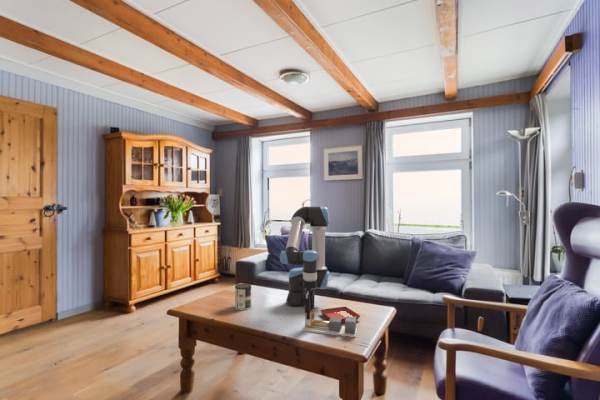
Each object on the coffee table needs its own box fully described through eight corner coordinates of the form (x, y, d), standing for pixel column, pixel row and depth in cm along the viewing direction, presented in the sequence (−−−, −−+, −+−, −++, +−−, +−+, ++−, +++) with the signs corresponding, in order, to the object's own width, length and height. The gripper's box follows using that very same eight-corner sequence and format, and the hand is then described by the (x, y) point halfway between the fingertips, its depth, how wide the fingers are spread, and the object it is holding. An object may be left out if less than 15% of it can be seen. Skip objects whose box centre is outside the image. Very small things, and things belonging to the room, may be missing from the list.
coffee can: (249, 304, 208) (249, 282, 208) (252, 309, 198) (252, 286, 198) (233, 305, 204) (233, 284, 204) (236, 311, 194) (236, 288, 194)
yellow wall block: (305, 326, 167) (305, 311, 167) (307, 323, 171) (307, 308, 171) (338, 330, 162) (338, 314, 162) (339, 327, 166) (339, 312, 166)
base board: (307, 323, 174) (307, 322, 174) (357, 329, 167) (357, 328, 167) (302, 331, 165) (302, 329, 165) (355, 337, 157) (355, 335, 157)
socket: (346, 327, 167) (346, 316, 167) (356, 329, 165) (356, 317, 165) (344, 333, 160) (344, 321, 160) (354, 334, 159) (354, 322, 159)
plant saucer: (319, 314, 190) (319, 309, 190) (345, 311, 196) (345, 305, 196) (332, 326, 173) (332, 320, 173) (361, 321, 179) (361, 315, 179)
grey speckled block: (330, 326, 168) (330, 317, 168) (341, 327, 167) (341, 318, 167) (328, 330, 163) (328, 321, 163) (340, 332, 161) (340, 322, 161)
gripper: (307, 275, 178) (307, 316, 178) (298, 283, 162) (298, 328, 162) (320, 276, 176) (319, 318, 176) (312, 284, 160) (312, 330, 160)
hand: (309, 323), depth 169 cm, fingers closed on yellow wall block, 4 cm apart
